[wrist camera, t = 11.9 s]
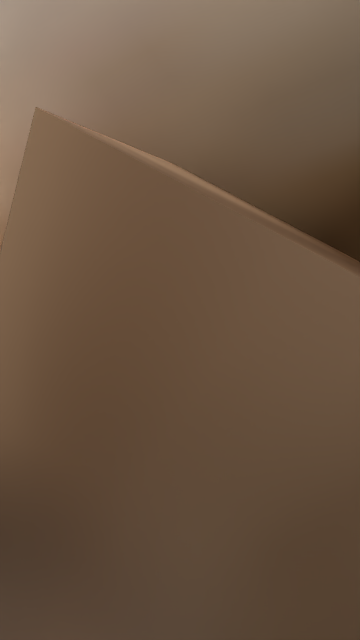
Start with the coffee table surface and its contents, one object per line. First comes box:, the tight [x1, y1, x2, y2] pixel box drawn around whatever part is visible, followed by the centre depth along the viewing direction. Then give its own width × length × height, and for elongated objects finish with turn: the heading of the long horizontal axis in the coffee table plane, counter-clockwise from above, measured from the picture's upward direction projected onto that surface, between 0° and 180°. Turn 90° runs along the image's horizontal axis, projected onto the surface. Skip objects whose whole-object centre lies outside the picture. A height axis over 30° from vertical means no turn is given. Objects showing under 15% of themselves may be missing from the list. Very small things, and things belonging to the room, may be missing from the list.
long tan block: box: [0, 107, 360, 640], centre depth 7 cm, size 5×14×5 cm, turn 154°
